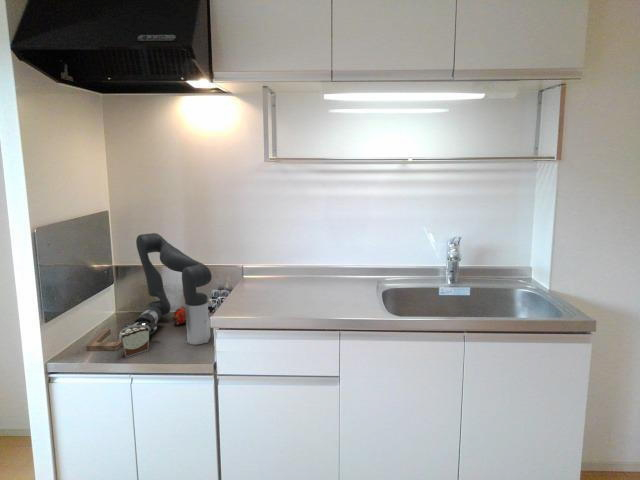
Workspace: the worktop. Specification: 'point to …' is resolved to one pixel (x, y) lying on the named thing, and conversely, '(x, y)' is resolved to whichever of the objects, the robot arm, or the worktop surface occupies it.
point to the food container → (135, 339)
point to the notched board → (103, 343)
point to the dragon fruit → (180, 316)
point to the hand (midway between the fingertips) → (132, 336)
